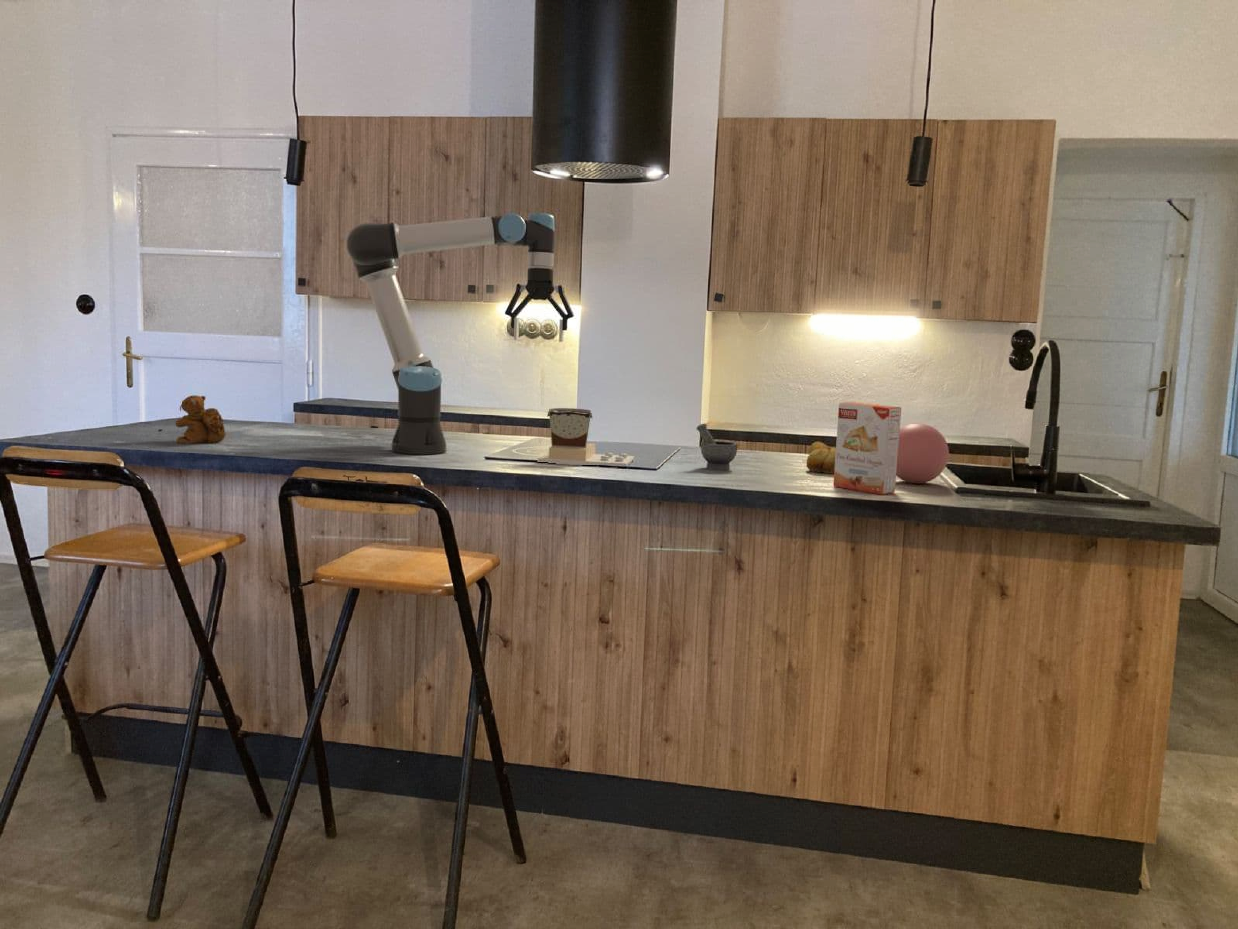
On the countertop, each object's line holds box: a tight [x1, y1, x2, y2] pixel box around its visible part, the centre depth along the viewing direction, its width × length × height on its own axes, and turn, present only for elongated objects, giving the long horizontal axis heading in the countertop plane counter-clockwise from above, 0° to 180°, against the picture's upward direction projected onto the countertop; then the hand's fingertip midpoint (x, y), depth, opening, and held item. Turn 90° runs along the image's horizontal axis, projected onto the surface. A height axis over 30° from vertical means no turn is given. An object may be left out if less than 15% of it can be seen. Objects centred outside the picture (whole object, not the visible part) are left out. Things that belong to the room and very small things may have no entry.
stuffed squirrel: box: [175, 394, 228, 444], centre depth 286 cm, size 10×14×13 cm
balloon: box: [896, 423, 950, 485], centre depth 263 cm, size 15×20×15 cm
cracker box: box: [832, 401, 902, 496], centre depth 245 cm, size 14×6×21 cm, turn 45°
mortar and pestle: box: [696, 422, 739, 471], centre depth 274 cm, size 11×9×12 cm
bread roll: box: [806, 441, 836, 475], centre depth 275 cm, size 13×10×8 cm
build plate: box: [536, 442, 635, 466], centre depth 277 cm, size 24×16×4 cm, turn 82°
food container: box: [546, 407, 593, 448], centre depth 276 cm, size 12×6×10 cm, turn 84°
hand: (538, 340), depth 301 cm, fingers open, 13 cm apart
